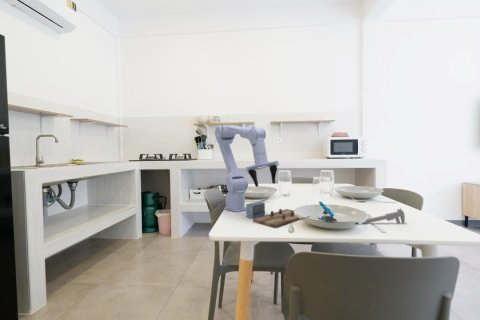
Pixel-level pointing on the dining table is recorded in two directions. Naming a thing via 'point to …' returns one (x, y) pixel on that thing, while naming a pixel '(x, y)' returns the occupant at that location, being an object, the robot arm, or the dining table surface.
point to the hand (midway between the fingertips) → (265, 185)
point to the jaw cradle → (277, 218)
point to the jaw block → (255, 210)
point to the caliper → (388, 217)
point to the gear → (326, 209)
